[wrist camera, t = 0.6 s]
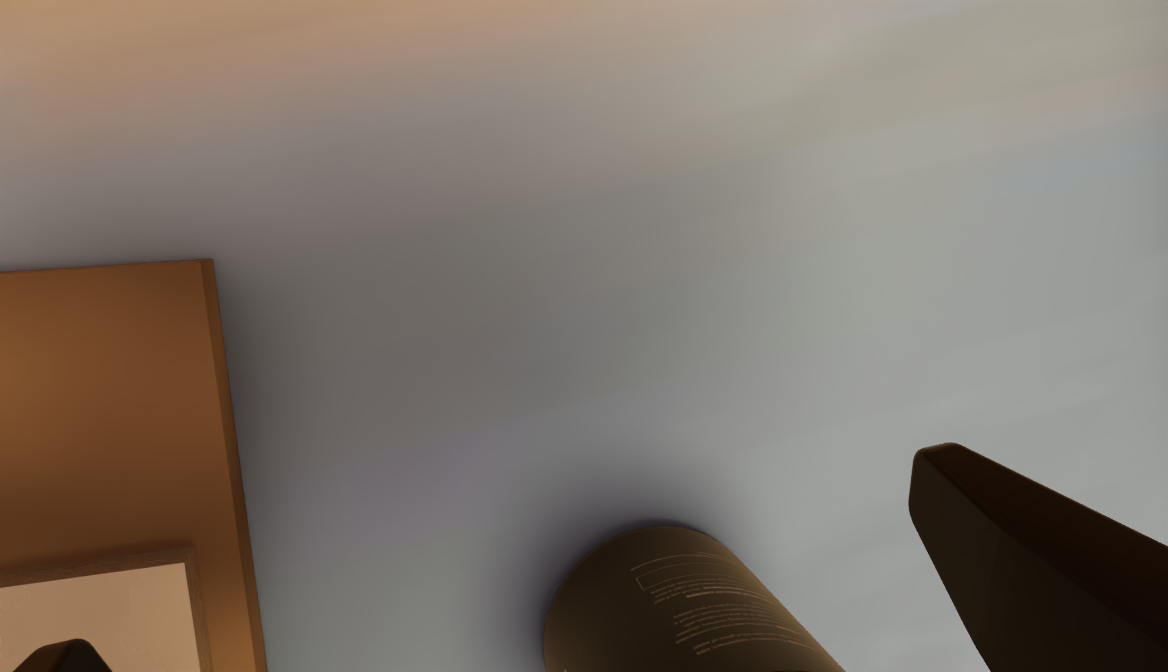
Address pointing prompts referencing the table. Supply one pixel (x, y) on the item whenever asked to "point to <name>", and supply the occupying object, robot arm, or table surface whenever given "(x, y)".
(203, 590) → the board
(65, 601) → the fixed leaf
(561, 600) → the supplement bottle
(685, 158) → the table surface
